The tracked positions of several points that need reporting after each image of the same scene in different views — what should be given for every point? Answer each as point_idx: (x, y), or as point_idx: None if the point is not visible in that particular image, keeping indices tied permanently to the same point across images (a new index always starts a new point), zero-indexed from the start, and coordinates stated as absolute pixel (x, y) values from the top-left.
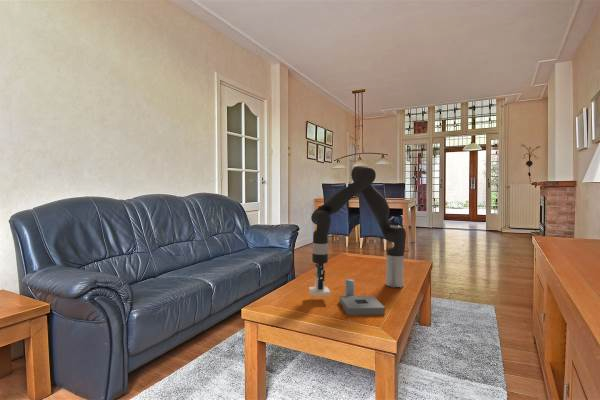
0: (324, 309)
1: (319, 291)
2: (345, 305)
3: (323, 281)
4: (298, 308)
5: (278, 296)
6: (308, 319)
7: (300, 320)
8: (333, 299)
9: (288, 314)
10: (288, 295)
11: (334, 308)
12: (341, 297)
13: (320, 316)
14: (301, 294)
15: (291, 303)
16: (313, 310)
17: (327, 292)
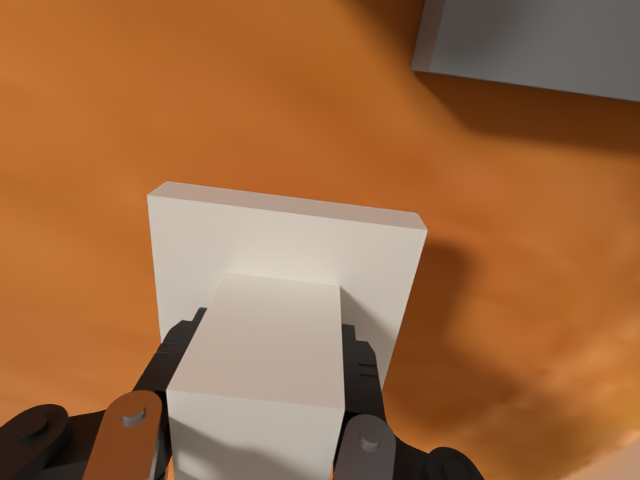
0: (518, 274)
1: None
2: None
3: (340, 399)
4: (424, 416)
5: (172, 467)
6: (632, 407)
7: (617, 442)
8: (280, 103)
9: (498, 471)
10: None
11: (536, 185)
12: (491, 67)
13: (633, 337)
14: (120, 344)
15: None
16: (500, 349)
17: (415, 266)
